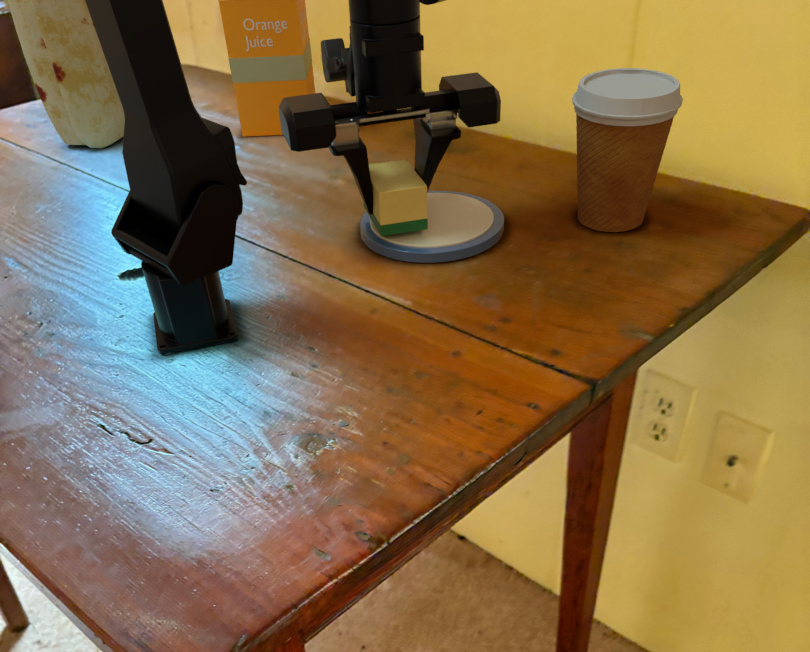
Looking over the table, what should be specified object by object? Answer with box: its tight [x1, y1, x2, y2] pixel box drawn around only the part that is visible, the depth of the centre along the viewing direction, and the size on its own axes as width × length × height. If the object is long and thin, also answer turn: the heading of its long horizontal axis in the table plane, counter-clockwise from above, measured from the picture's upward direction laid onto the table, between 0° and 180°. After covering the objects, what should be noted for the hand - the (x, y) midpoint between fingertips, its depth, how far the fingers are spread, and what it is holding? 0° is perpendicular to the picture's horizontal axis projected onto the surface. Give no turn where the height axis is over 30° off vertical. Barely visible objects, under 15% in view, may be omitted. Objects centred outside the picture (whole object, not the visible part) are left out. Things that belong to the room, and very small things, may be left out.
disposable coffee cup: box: [571, 67, 684, 233], centre depth 74 cm, size 10×10×12 cm
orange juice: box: [218, 0, 316, 138], centre depth 95 cm, size 8×9×20 cm
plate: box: [359, 190, 505, 264], centre depth 78 cm, size 14×14×1 cm
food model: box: [7, 0, 125, 149], centre depth 93 cm, size 10×7×20 cm
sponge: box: [363, 158, 428, 236], centre depth 75 cm, size 7×4×4 cm, turn 15°
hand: (394, 208), depth 76 cm, fingers closed on sponge, 4 cm apart
